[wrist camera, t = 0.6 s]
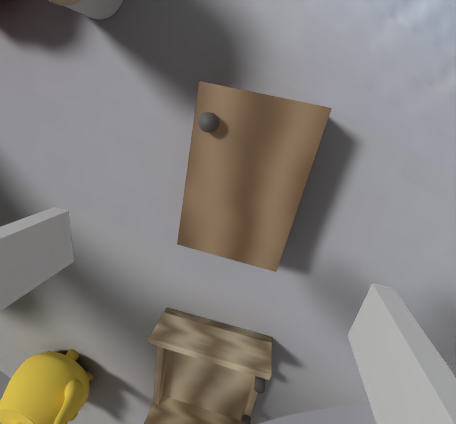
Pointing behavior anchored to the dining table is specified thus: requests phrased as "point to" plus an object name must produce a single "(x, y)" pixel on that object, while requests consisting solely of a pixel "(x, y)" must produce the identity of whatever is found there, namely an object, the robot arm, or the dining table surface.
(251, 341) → the box
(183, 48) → the dining table surface
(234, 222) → the door
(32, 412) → the teapot
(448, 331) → the dining table surface
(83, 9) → the coffee cup
